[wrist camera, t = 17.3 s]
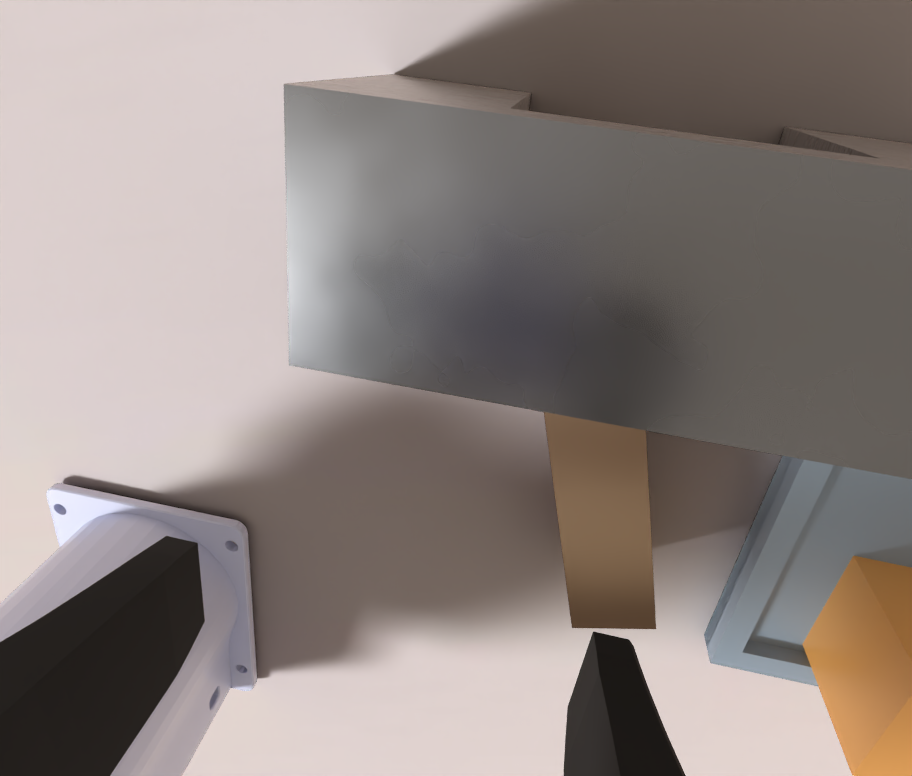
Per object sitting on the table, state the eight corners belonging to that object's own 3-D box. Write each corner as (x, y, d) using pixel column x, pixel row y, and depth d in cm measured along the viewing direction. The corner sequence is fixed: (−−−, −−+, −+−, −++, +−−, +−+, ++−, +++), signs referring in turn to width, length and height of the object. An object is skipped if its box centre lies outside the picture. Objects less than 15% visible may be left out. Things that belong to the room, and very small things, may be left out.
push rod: (645, 544, 21) (655, 628, 18) (573, 546, 22) (572, 627, 19) (622, 141, 16) (631, 162, 13) (527, 157, 16) (513, 180, 13)
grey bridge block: (851, 344, 17) (994, 494, 11) (381, 267, 18) (289, 365, 12) (942, 147, 14) (1183, 206, 9) (392, 74, 16) (284, 83, 10)
